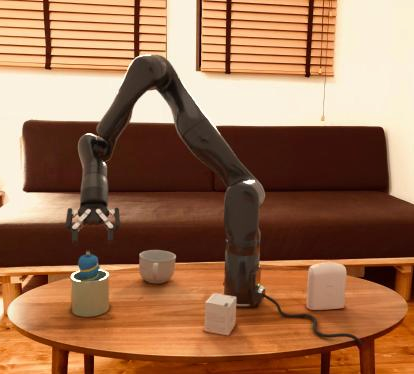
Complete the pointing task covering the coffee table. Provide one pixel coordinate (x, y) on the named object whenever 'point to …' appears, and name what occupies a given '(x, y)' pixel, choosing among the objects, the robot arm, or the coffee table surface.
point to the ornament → (89, 267)
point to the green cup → (90, 295)
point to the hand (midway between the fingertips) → (92, 243)
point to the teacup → (156, 265)
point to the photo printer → (326, 286)
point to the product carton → (220, 314)
